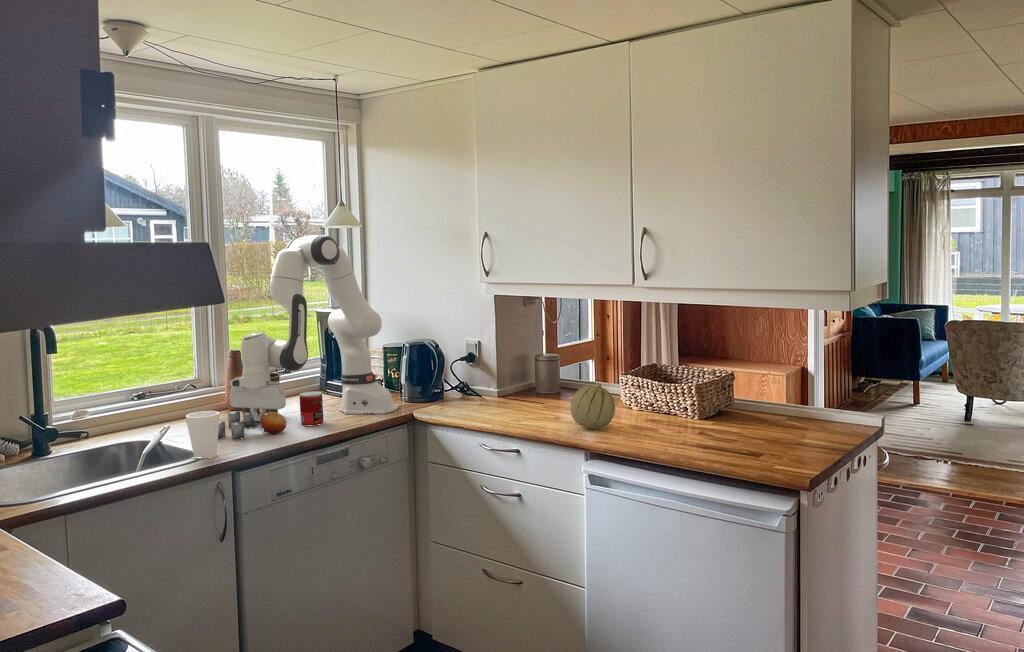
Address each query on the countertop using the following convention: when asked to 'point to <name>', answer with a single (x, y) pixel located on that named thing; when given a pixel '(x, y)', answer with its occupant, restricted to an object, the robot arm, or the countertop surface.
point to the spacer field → (237, 424)
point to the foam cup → (203, 432)
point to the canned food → (311, 408)
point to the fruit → (273, 423)
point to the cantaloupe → (592, 407)
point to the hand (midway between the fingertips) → (259, 420)
